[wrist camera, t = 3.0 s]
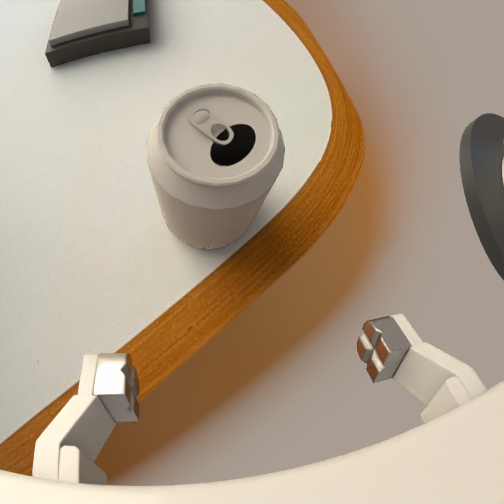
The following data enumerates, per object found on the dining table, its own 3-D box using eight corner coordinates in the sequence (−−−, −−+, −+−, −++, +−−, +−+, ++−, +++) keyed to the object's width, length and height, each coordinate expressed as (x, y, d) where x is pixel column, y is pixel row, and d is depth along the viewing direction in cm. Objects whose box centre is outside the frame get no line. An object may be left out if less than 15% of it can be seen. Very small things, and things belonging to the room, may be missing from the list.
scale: (147, -7, 31) (146, -26, 28) (150, 42, 29) (148, 20, 26) (63, 13, 29) (58, -5, 25) (51, 67, 27) (42, 48, 23)
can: (216, 270, 26) (234, 230, 14) (144, 214, 25) (111, 138, 14) (270, 200, 28) (319, 123, 16) (201, 150, 27) (208, 54, 16)
